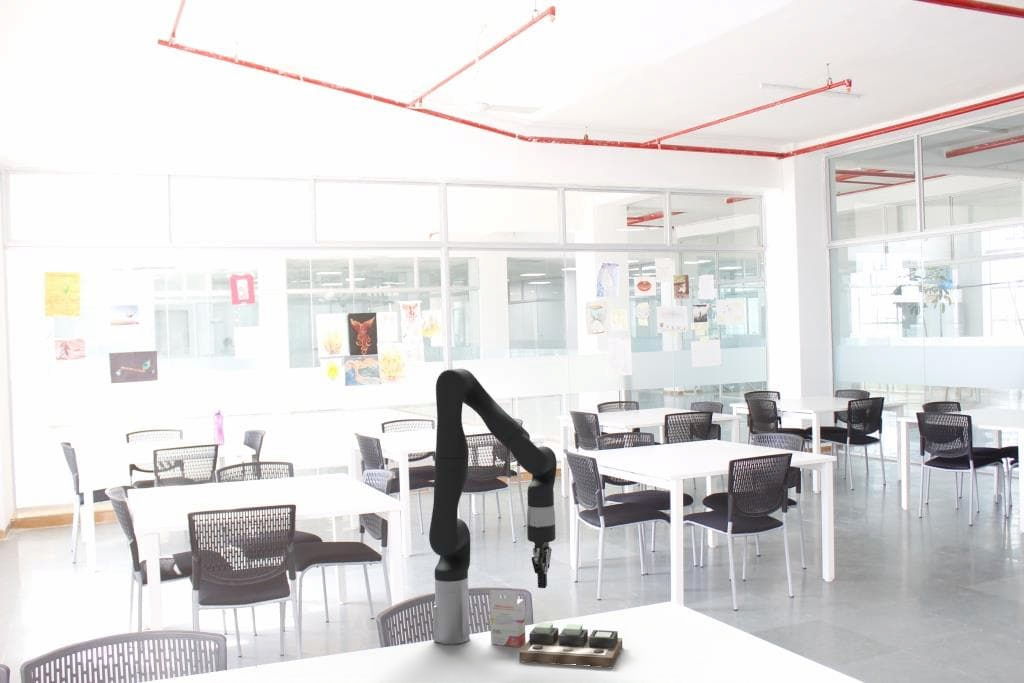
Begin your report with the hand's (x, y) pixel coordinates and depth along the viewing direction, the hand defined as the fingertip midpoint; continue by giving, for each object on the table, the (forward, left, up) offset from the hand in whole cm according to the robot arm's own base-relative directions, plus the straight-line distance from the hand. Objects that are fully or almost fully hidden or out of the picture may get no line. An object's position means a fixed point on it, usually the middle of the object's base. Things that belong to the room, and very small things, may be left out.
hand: (542, 587), depth 248 cm
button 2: (+16, 0, -14) cm, 21 cm away
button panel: (+8, -3, -17) cm, 19 cm away
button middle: (+8, 0, -12) cm, 15 cm away
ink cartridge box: (-11, +3, -17) cm, 20 cm away
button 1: (0, 0, -12) cm, 12 cm away
